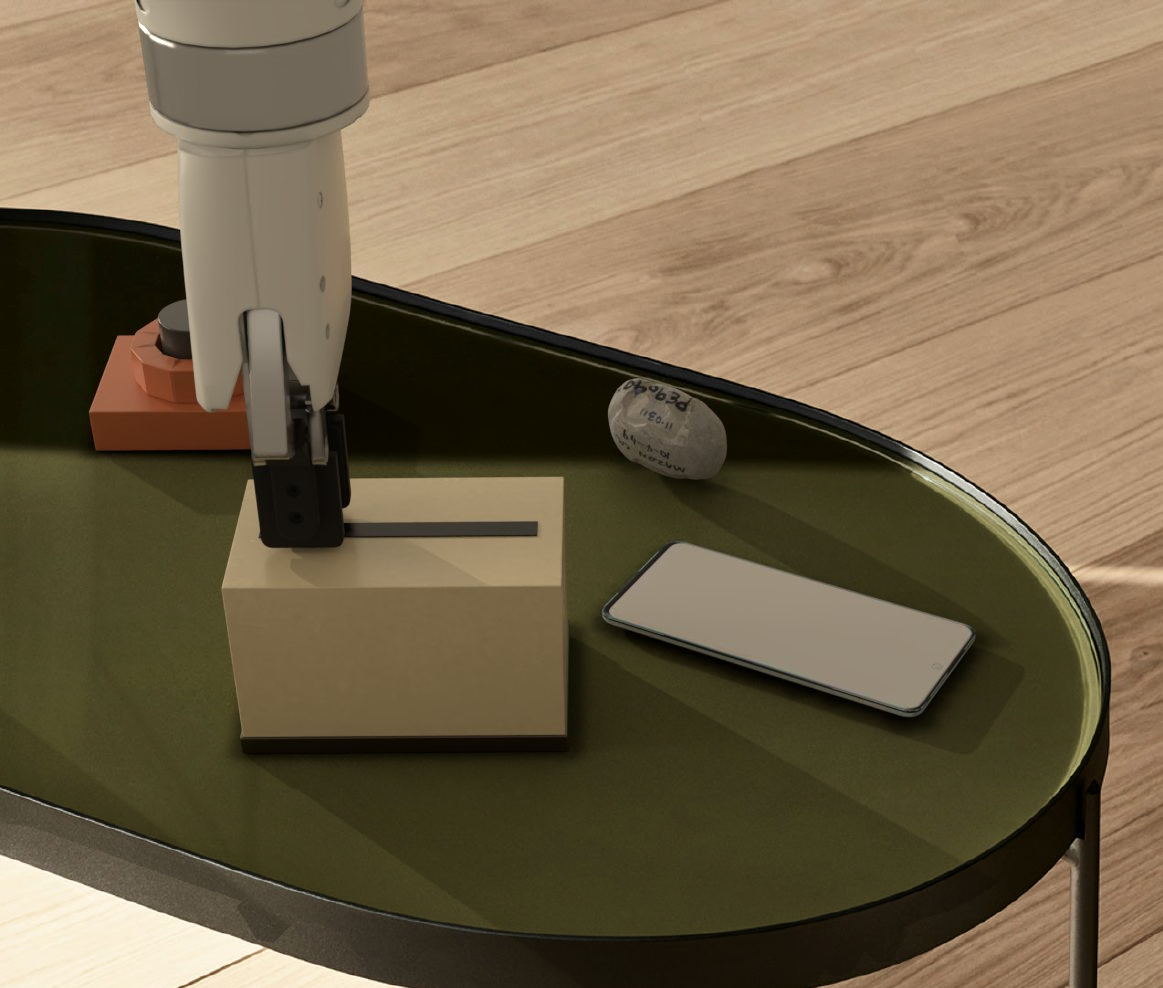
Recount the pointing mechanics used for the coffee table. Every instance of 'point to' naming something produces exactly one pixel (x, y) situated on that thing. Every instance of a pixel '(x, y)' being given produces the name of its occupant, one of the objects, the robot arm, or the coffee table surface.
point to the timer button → (175, 330)
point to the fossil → (667, 430)
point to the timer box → (160, 402)
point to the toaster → (407, 622)
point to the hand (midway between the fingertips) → (307, 521)
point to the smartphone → (792, 627)
